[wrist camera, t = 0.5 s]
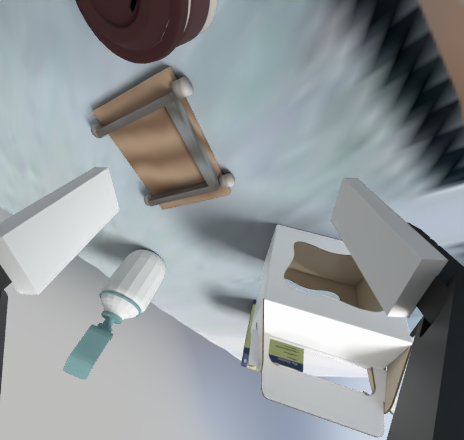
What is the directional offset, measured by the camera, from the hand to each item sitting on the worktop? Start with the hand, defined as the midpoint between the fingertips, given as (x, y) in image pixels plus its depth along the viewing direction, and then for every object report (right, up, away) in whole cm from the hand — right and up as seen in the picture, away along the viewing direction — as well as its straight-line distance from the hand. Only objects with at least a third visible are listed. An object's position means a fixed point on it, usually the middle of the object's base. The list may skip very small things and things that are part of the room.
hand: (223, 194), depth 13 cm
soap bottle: (-24, -13, +57) cm, 63 cm away
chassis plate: (-12, +11, +30) cm, 34 cm away
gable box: (+20, -9, +37) cm, 43 cm away
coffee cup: (-5, +26, +14) cm, 30 cm away
